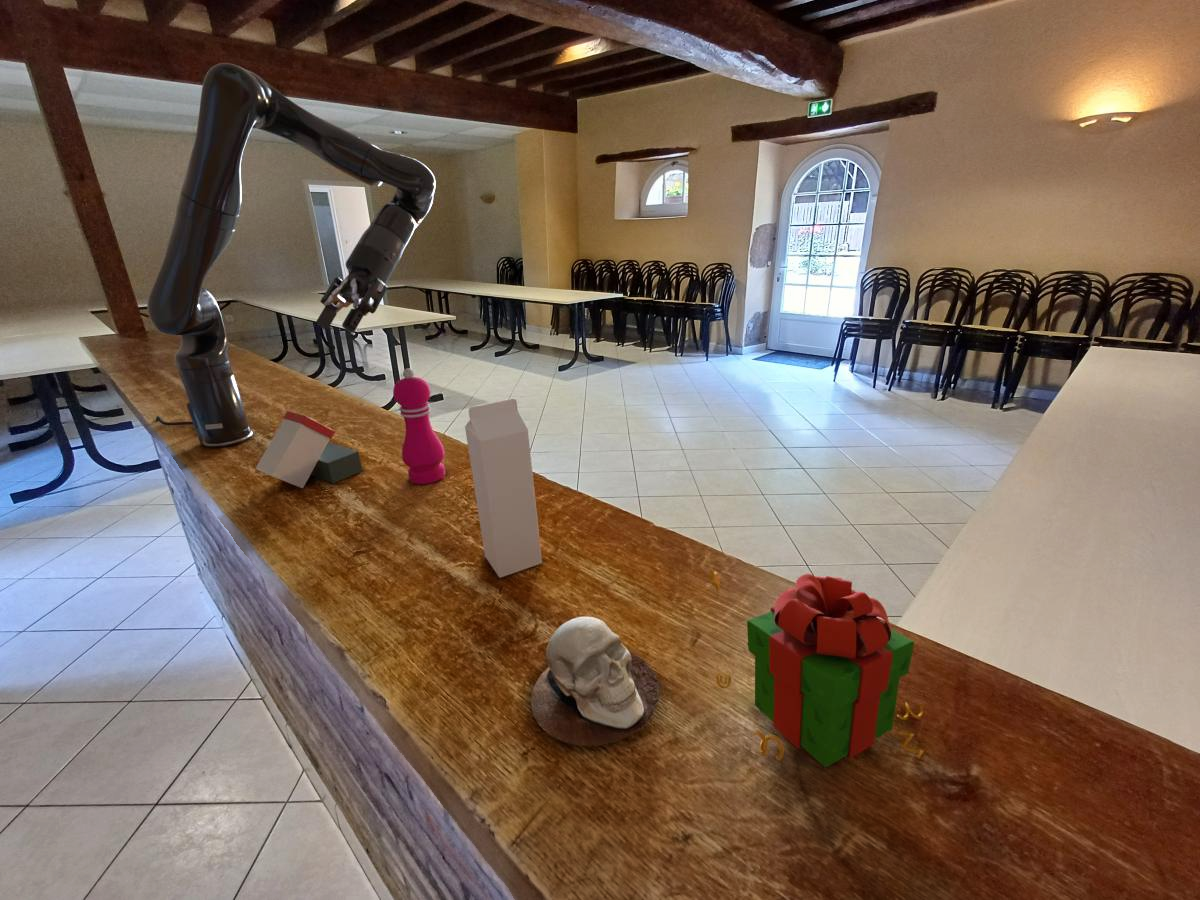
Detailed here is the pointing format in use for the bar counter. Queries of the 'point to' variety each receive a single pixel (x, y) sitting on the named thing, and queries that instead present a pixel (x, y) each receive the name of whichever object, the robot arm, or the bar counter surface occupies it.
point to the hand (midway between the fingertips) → (334, 328)
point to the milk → (504, 486)
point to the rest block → (337, 463)
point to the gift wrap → (827, 669)
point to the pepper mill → (418, 430)
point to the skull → (592, 686)
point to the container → (295, 449)
